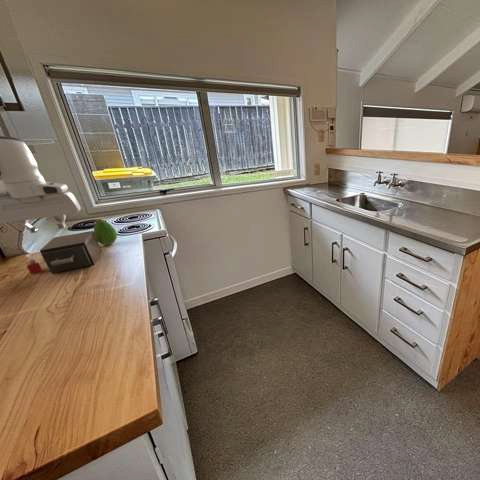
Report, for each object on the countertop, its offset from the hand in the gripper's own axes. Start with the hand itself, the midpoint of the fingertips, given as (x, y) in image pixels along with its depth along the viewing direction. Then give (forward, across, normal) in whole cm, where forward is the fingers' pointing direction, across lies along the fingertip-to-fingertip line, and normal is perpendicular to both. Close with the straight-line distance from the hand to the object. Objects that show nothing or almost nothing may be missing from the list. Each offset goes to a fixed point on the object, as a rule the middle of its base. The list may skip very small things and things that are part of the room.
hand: (49, 230), depth 88 cm
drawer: (+16, 0, +6) cm, 17 cm away
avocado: (+17, +8, +26) cm, 32 cm away
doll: (+17, -12, +9) cm, 23 cm away
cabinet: (+17, 0, +11) cm, 20 cm away
